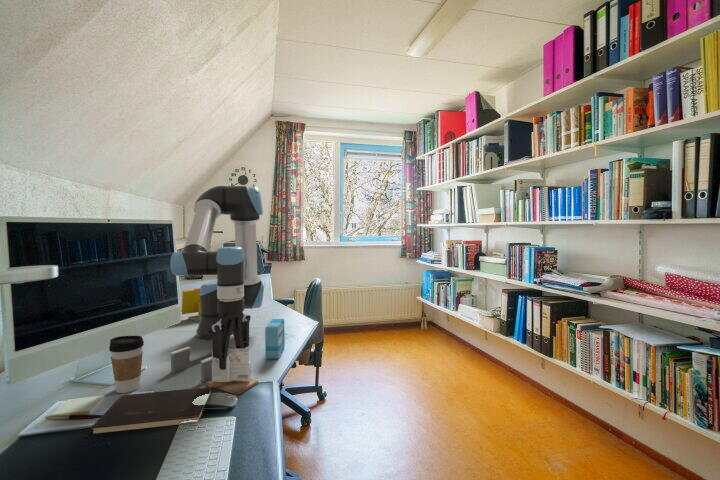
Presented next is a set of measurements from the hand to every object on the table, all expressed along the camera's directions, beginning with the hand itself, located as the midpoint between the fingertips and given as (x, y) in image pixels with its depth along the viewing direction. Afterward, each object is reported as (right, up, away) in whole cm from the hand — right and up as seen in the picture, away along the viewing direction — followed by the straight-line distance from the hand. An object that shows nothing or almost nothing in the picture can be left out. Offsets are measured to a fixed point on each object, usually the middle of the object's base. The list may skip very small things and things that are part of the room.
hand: (232, 375), depth 105 cm
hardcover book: (-14, -4, -15) cm, 20 cm away
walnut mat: (0, -3, 0) cm, 3 cm away
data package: (+7, -2, +24) cm, 26 cm away
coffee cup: (-30, -3, -3) cm, 30 cm away
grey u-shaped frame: (-13, -2, +12) cm, 17 cm away
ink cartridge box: (0, -1, 0) cm, 1 cm away
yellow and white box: (-41, +1, +74) cm, 85 cm away
